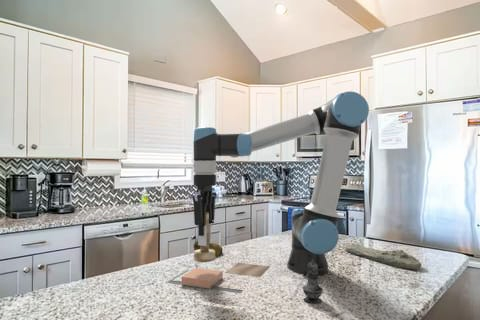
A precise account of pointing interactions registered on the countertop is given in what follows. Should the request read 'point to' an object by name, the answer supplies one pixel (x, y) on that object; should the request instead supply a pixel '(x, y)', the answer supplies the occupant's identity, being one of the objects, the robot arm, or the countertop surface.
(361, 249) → the elongated rock
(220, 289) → the mat
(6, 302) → the countertop surface
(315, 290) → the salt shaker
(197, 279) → the tile
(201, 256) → the masher
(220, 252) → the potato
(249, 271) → the board
